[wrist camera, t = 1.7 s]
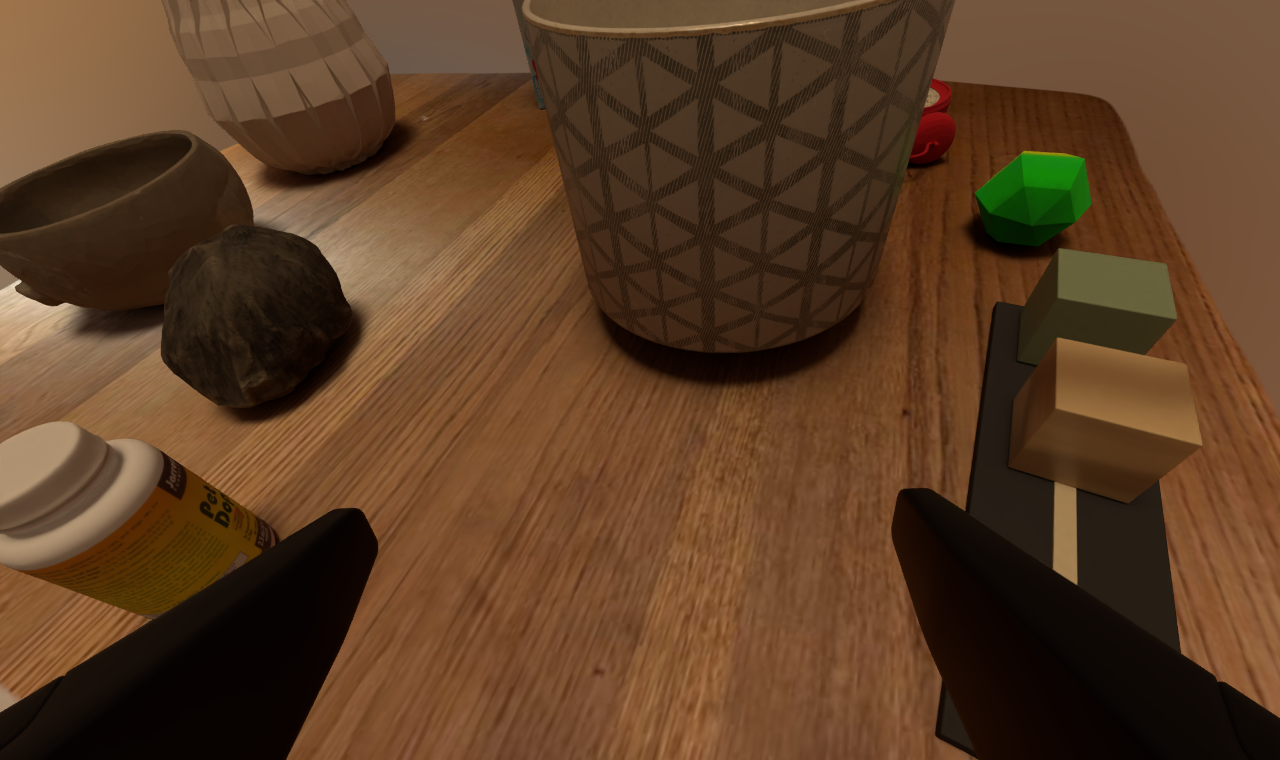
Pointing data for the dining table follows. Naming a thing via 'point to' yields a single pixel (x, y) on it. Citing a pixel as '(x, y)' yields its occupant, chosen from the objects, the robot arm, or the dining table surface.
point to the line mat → (1061, 516)
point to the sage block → (1097, 304)
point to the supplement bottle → (117, 519)
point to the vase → (287, 79)
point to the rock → (250, 314)
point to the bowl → (117, 219)
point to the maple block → (1103, 419)
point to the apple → (1034, 197)
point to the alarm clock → (934, 126)
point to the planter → (733, 154)
